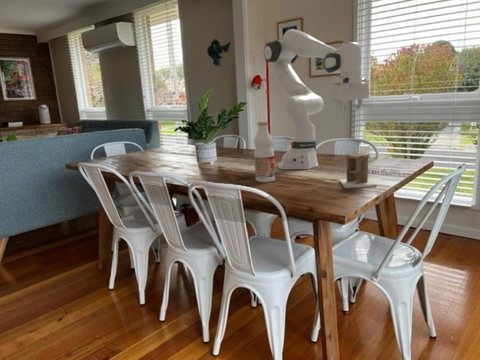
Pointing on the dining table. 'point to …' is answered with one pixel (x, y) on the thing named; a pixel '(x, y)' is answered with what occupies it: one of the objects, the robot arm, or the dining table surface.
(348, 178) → the stool
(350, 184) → the mat
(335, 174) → the dining table surface
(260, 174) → the fruit juice
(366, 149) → the shot glass
